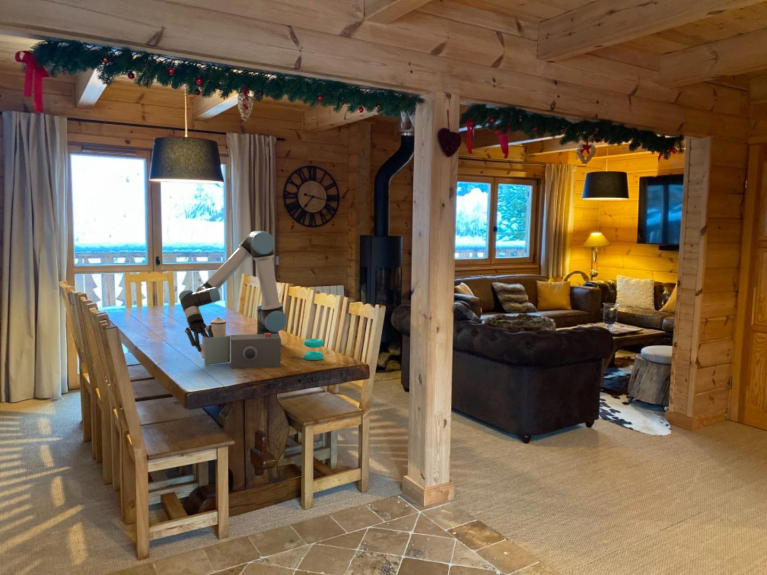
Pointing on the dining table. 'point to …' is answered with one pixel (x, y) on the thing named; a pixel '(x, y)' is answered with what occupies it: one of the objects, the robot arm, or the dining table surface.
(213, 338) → the side door
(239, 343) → the camera body
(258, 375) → the dining table surface
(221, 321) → the teacup with lid
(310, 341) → the donuts
